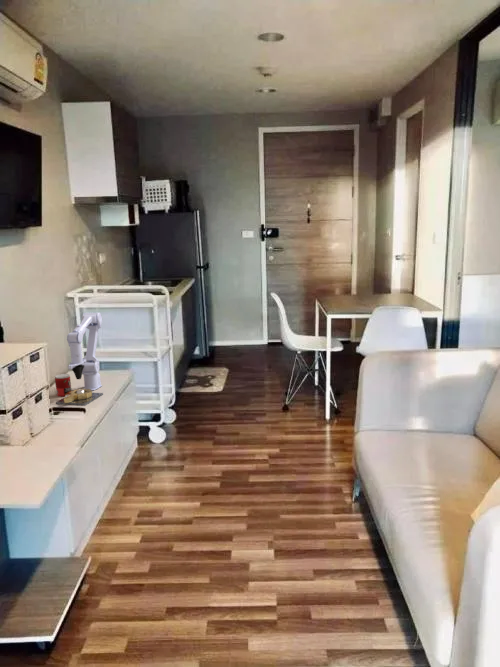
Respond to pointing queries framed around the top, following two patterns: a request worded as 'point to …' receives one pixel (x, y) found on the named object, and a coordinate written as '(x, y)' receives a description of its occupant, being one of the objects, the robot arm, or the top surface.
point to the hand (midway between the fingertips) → (78, 378)
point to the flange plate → (81, 401)
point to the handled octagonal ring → (78, 395)
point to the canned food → (63, 384)
